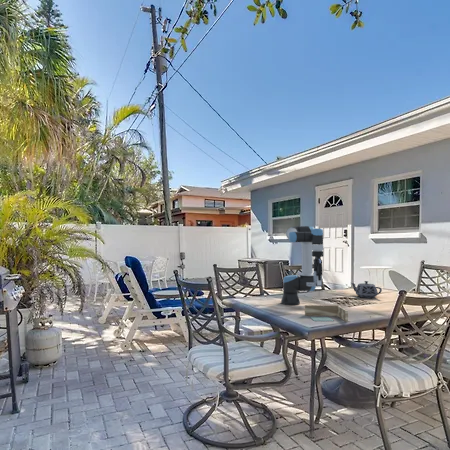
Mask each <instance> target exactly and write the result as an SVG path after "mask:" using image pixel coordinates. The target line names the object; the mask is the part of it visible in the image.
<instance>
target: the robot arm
mask: <svg viewBox="0 0 450 450" xmlns="http://www.w3.org/2000/svg"><path fill="white" fill-rule="evenodd" d="M285 237H287V239H288V241H289V243H300V245H301V273H300V274H299V276H298V275H297V274H290V275H286V276H284V277H283V294H282V298H281V301H280V302H281V304H282V305H286V306H298V305H300V303H301V301H300V298H299V295H298V293H299V292H314V291H315V290H316V286H307V285H306V282H314V271H317V285H321V275H322V276H323V260H322V259H321V258H323V257H324V230H323V228H315V226H312V225H311V226H310V225H305V226H303V225H301V226H300V225H298V226H297V225H296V226H291V227H288V229H286V231H285ZM313 257H314V259H313Z"/></svg>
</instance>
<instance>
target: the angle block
mask: <svg viewBox="0 0 450 450" xmlns="http://www.w3.org/2000/svg"><path fill="white" fill-rule="evenodd" d="M313 274H314V282H306V285H307V286H316V287H317V288H319V287H323V284H322V283H323V279H322V277H323V274H322V275H321V285H317V271H314V270H313Z"/></svg>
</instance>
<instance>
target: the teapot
mask: <svg viewBox="0 0 450 450" xmlns="http://www.w3.org/2000/svg"><path fill="white" fill-rule="evenodd" d="M350 284H351V285H352V288H353V289H352V290H353V291H354V292H355V294H356V295H357V297H359V298H362V297H363V299H375V298H376V297H377V296H379V295H380V294H382V291H383V290H382V287H379V286H376V284H374V283H369V281H368V280H364V282H363V283H358V284H357V287H356V285H355V283H354V282H350ZM378 290H379V291H378ZM374 297H375V298H374Z"/></svg>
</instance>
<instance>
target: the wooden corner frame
mask: <svg viewBox="0 0 450 450" xmlns="http://www.w3.org/2000/svg"><path fill="white" fill-rule="evenodd" d="M304 316H310V317H330V316H331V317H338V318H340V319H342V320H343V321H344V322H346V323H347V322H349V310H347V309H345V308H344V307H342V306H340V305H339V304H337V305H336V304H332V305H331V304H327V305H326V304H322V305H321V304H320V305H319V304H305V305H304Z"/></svg>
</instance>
